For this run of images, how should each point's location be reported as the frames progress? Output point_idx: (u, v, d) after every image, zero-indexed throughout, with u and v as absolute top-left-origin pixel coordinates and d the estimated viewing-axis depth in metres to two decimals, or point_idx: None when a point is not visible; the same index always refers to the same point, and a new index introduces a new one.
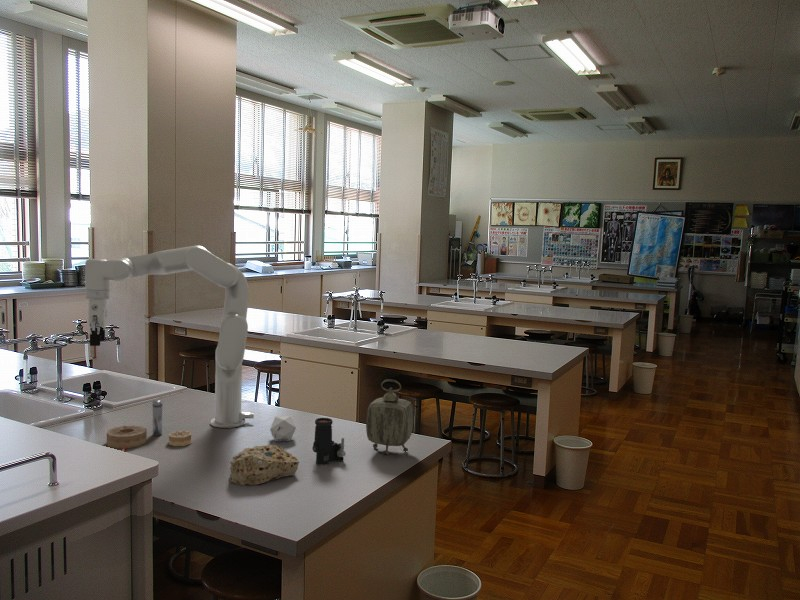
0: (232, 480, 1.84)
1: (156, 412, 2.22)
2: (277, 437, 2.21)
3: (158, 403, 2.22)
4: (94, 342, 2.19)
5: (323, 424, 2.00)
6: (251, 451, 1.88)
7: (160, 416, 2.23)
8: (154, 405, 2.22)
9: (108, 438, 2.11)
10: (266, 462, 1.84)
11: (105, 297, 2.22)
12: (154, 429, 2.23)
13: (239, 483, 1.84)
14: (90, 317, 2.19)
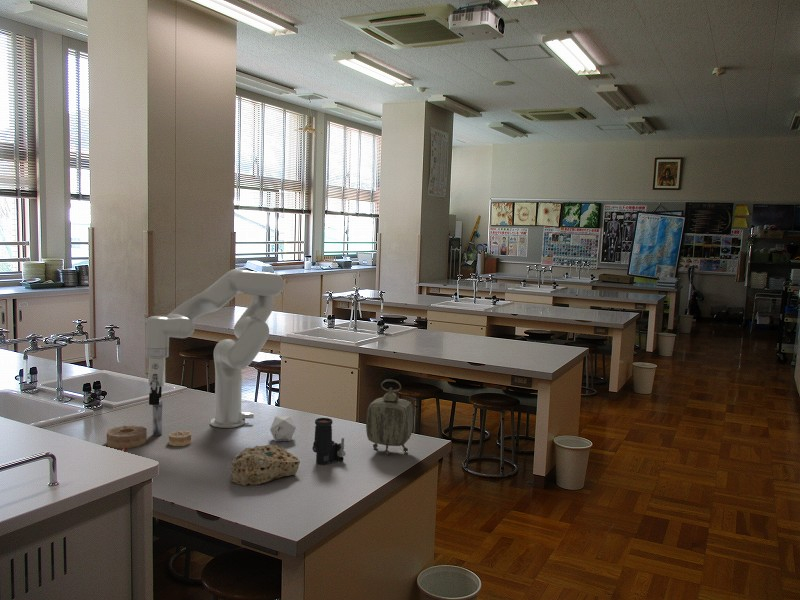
0: (233, 480, 1.84)
1: (156, 412, 2.22)
2: (277, 437, 2.21)
3: None
4: (153, 401, 2.17)
5: (323, 424, 2.00)
6: (252, 451, 1.88)
7: (160, 416, 2.23)
8: (154, 405, 2.22)
9: (108, 438, 2.11)
10: (267, 462, 1.84)
11: (165, 355, 2.20)
12: (154, 429, 2.23)
13: (240, 483, 1.84)
14: (150, 376, 2.17)
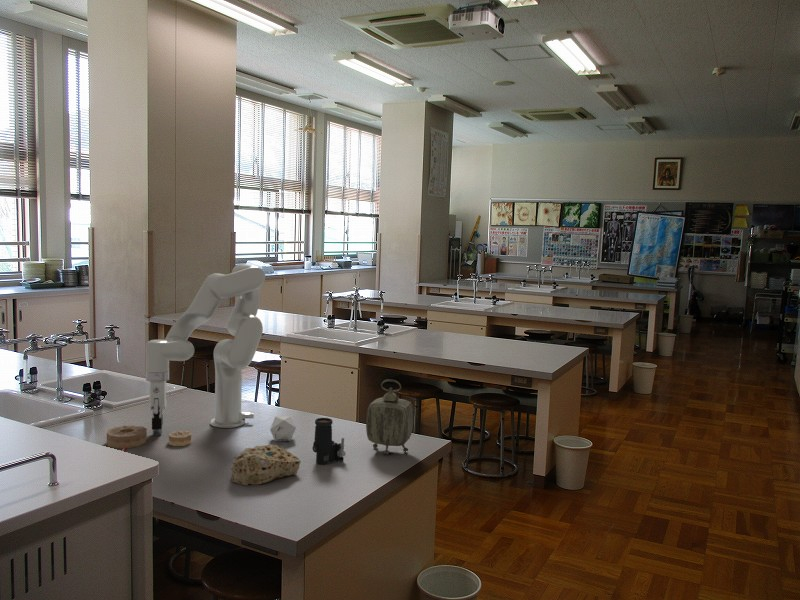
0: (234, 480, 1.84)
1: None
2: (277, 437, 2.21)
3: None
4: (156, 426, 2.21)
5: (323, 424, 2.00)
6: (253, 451, 1.88)
7: None
8: None
9: (108, 438, 2.11)
10: (269, 462, 1.84)
11: (166, 379, 2.21)
12: None
13: (241, 483, 1.84)
14: (151, 400, 2.18)
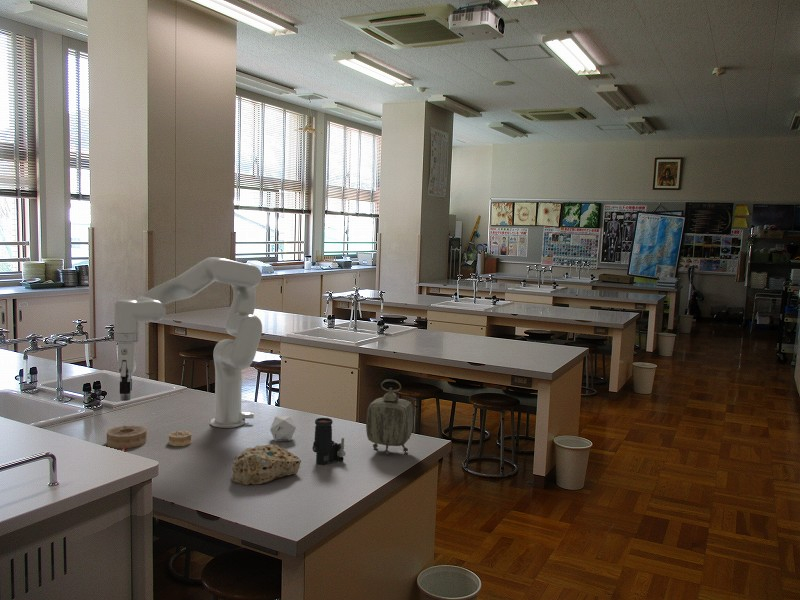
0: (235, 480, 1.85)
1: None
2: (277, 437, 2.21)
3: None
4: (124, 390, 2.10)
5: (323, 424, 2.00)
6: (253, 451, 1.88)
7: None
8: None
9: (108, 438, 2.11)
10: (269, 461, 1.85)
11: (135, 340, 2.10)
12: None
13: (242, 483, 1.84)
14: (119, 362, 2.07)
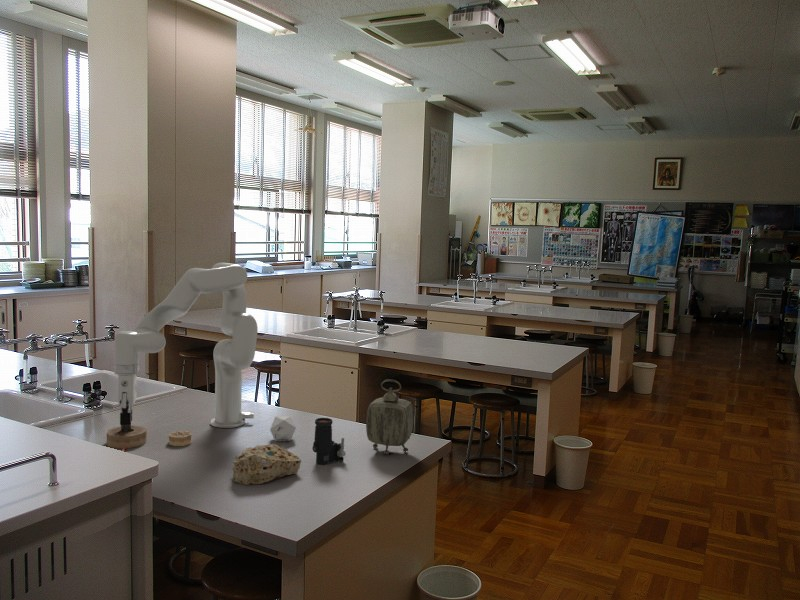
0: (236, 480, 1.85)
1: None
2: (277, 437, 2.21)
3: None
4: (125, 421, 2.12)
5: (323, 424, 2.00)
6: (254, 451, 1.88)
7: None
8: None
9: (108, 438, 2.11)
10: (270, 461, 1.85)
11: (135, 372, 2.11)
12: None
13: (243, 483, 1.84)
14: (119, 394, 2.08)
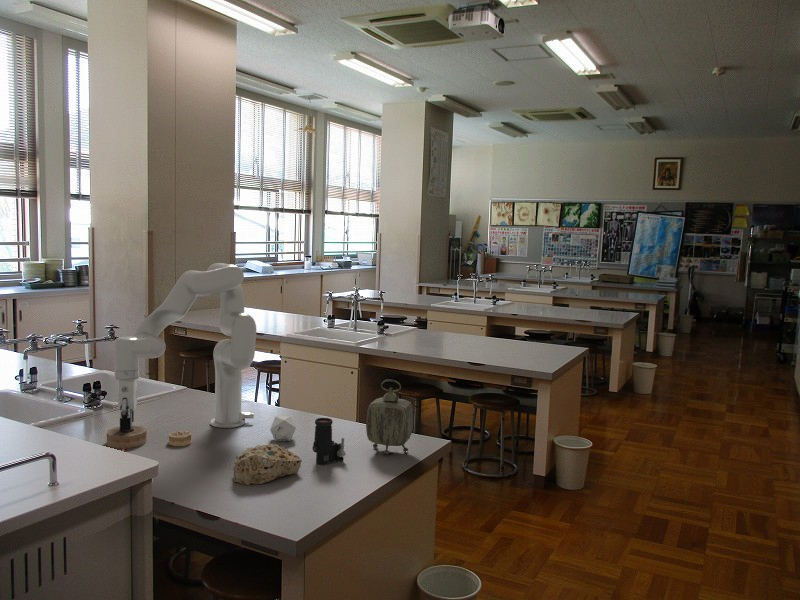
0: (236, 480, 1.85)
1: None
2: (277, 437, 2.21)
3: None
4: (124, 426, 2.10)
5: (323, 424, 2.00)
6: (254, 450, 1.88)
7: None
8: None
9: (108, 438, 2.11)
10: (271, 461, 1.85)
11: (135, 377, 2.12)
12: None
13: (244, 483, 1.84)
14: (120, 399, 2.09)
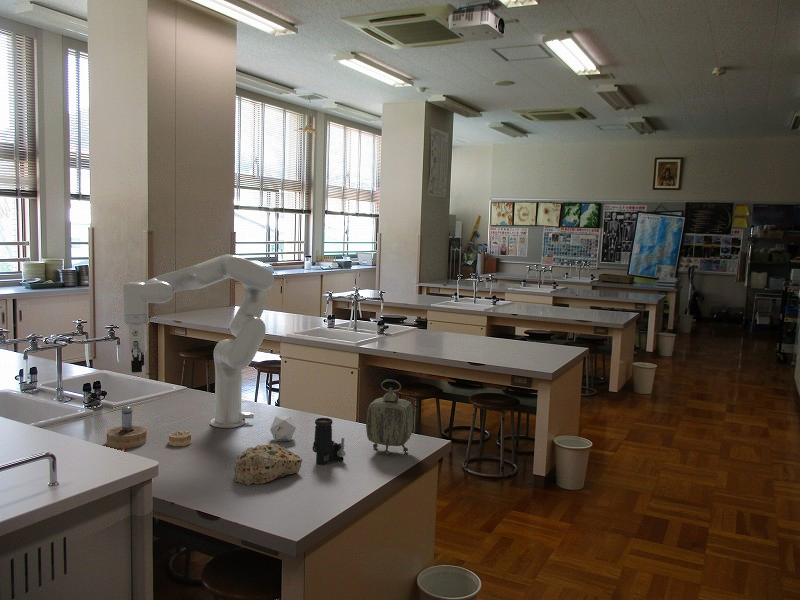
0: (238, 480, 1.85)
1: (126, 418, 2.13)
2: (277, 437, 2.21)
3: (127, 409, 2.13)
4: (136, 369, 2.12)
5: (323, 424, 2.00)
6: (255, 450, 1.89)
7: (129, 423, 2.14)
8: (123, 411, 2.13)
9: (108, 438, 2.11)
10: (272, 461, 1.85)
11: (145, 321, 2.15)
12: None
13: (245, 482, 1.84)
14: (131, 343, 2.12)
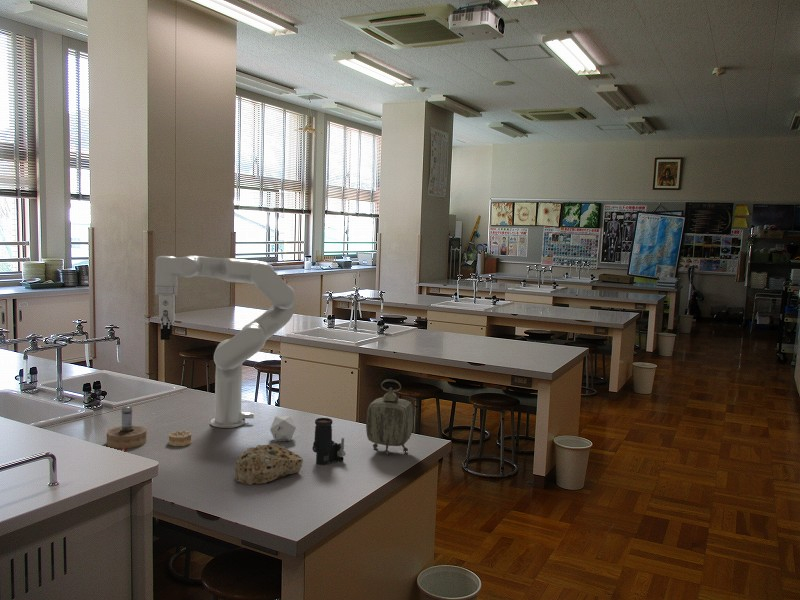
0: (239, 480, 1.85)
1: (126, 418, 2.13)
2: (277, 437, 2.21)
3: (127, 409, 2.13)
4: (165, 336, 2.28)
5: (323, 424, 2.00)
6: (256, 450, 1.89)
7: (129, 423, 2.14)
8: (123, 411, 2.13)
9: (108, 438, 2.11)
10: (273, 461, 1.86)
11: (174, 293, 2.30)
12: None
13: (246, 482, 1.85)
14: (161, 312, 2.27)
